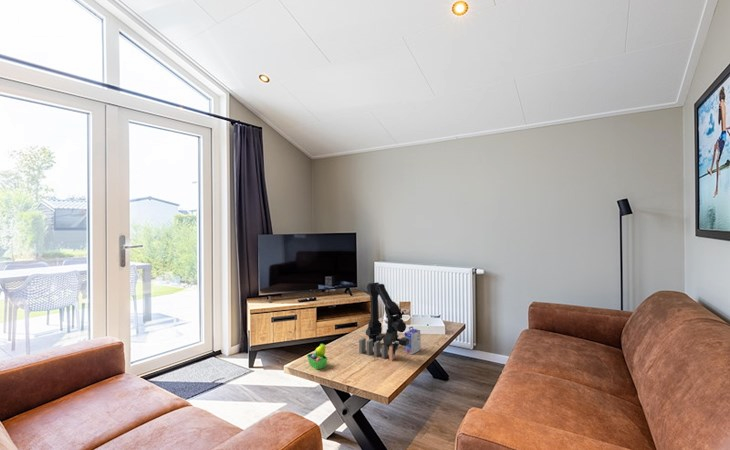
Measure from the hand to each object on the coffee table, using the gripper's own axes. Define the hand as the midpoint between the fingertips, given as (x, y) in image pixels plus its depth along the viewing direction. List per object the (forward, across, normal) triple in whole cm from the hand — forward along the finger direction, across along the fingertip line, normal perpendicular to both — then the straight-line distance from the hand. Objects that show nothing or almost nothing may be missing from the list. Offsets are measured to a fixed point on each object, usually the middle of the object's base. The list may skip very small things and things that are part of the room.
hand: (392, 354), depth 195 cm
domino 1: (+3, -20, 0) cm, 20 cm away
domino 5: (+3, 0, 0) cm, 3 cm away
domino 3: (+3, -10, 0) cm, 10 cm away
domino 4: (+3, -5, 0) cm, 6 cm away
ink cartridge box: (+3, +6, +16) cm, 17 cm away
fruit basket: (+3, -32, -28) cm, 43 cm away
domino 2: (+3, -15, 0) cm, 15 cm away
